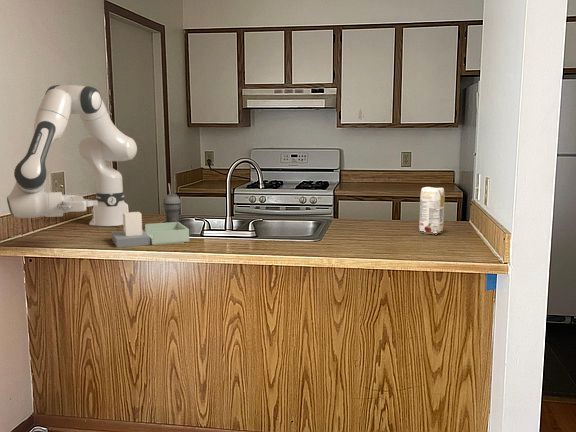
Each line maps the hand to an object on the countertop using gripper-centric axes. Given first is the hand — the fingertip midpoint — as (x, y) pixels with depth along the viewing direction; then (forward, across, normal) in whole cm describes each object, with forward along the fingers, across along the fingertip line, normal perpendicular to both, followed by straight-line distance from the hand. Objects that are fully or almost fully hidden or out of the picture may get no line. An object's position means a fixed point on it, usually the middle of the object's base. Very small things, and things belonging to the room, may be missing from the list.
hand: (97, 202), depth 217 cm
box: (+25, +1, +16) cm, 29 cm away
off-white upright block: (+12, 0, +13) cm, 18 cm away
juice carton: (+127, -29, +15) cm, 132 cm away
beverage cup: (+31, +19, +15) cm, 40 cm away
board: (+11, +1, +16) cm, 19 cm away
